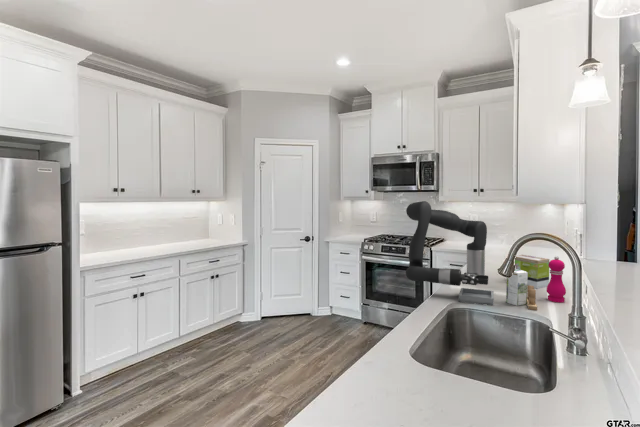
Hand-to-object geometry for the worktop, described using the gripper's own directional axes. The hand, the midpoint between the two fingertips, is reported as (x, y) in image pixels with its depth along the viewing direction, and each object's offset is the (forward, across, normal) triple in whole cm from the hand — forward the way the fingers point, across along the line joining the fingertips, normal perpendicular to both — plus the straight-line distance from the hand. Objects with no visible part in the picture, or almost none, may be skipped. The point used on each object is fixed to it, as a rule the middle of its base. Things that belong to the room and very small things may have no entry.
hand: (488, 280), depth 157 cm
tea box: (+19, +40, +9) cm, 46 cm away
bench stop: (+17, 0, +9) cm, 19 cm away
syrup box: (+11, 0, +10) cm, 15 cm away
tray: (-5, 0, +9) cm, 11 cm away
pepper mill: (+27, +12, +9) cm, 31 cm away
